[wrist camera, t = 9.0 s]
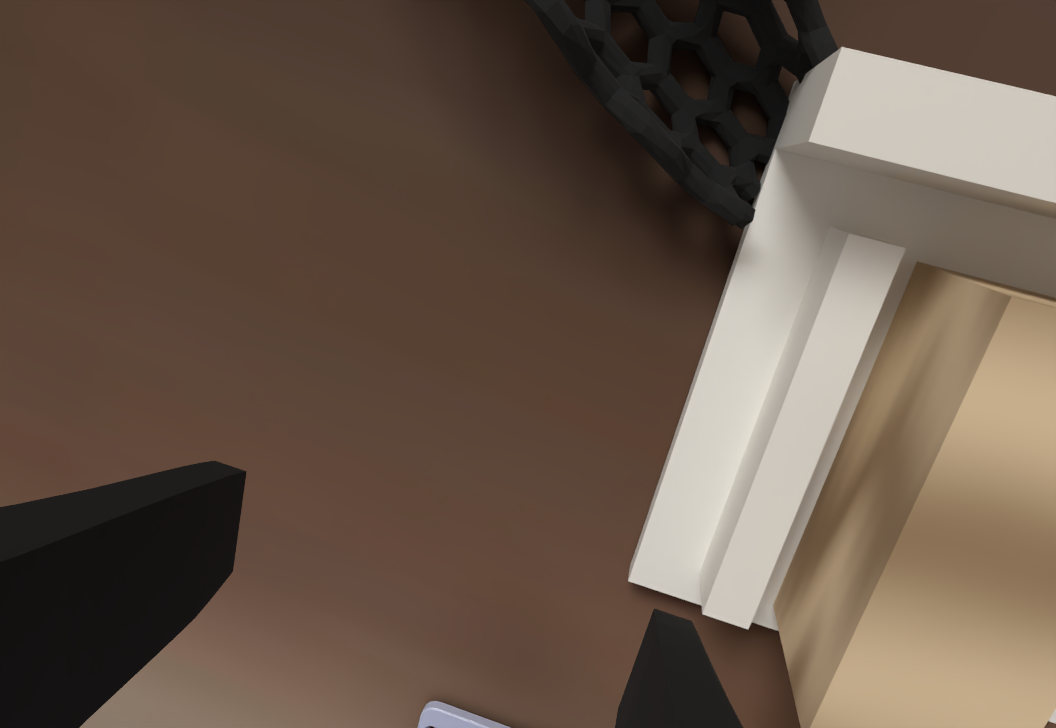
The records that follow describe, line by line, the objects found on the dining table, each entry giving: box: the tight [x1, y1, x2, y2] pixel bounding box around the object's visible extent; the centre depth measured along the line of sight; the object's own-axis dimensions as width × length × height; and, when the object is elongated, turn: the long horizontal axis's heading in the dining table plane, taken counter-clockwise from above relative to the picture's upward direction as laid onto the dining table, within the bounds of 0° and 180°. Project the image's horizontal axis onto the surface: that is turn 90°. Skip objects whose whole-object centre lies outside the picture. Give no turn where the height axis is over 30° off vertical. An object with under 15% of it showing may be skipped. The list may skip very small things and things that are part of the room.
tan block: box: [773, 261, 1056, 728], centre depth 16 cm, size 10×4×5 cm, turn 166°
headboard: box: [628, 47, 1056, 723], centre depth 16 cm, size 14×12×5 cm
